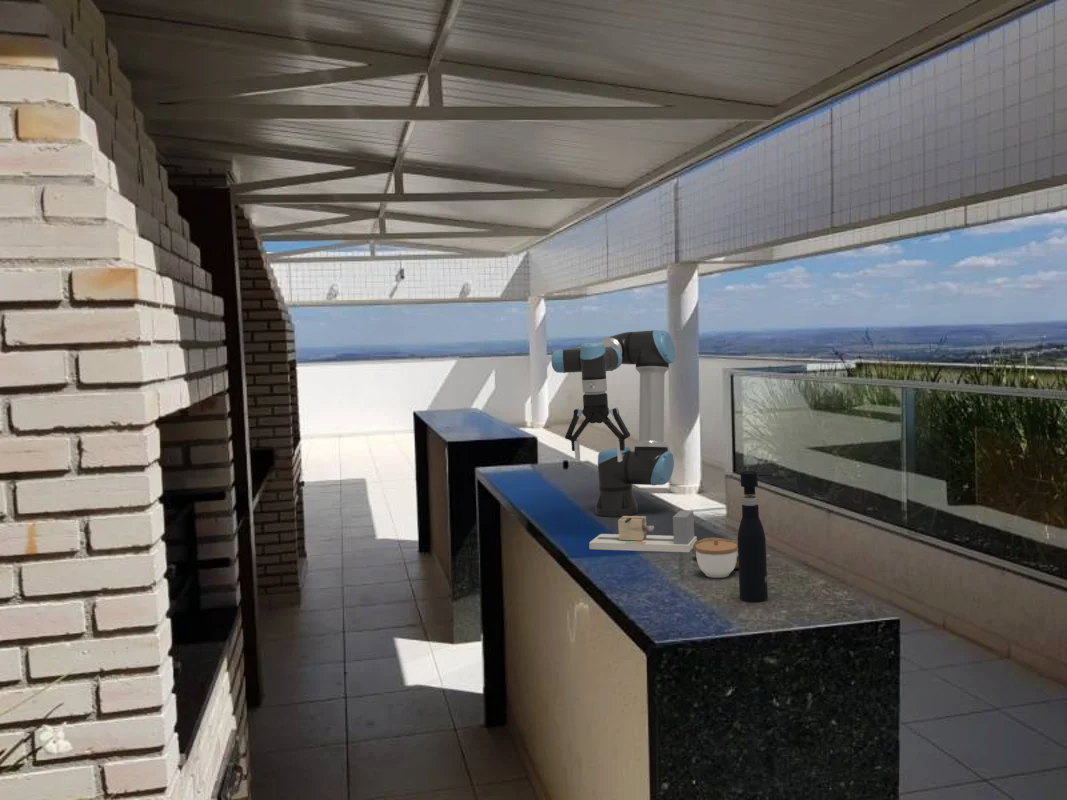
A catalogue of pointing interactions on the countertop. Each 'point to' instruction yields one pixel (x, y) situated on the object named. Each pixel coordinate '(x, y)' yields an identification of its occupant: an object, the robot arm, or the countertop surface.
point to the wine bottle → (751, 545)
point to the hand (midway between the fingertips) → (598, 461)
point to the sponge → (718, 540)
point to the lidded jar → (716, 558)
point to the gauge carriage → (633, 528)
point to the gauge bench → (654, 538)
